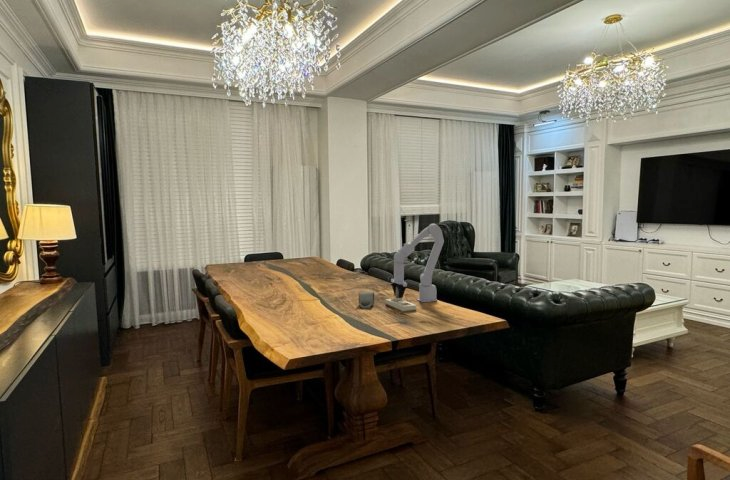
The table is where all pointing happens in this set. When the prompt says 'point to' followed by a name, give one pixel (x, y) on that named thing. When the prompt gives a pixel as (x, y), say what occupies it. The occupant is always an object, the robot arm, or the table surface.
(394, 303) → the board
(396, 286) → the pin
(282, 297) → the table surface
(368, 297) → the ceramic mug
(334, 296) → the table surface
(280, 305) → the table surface
